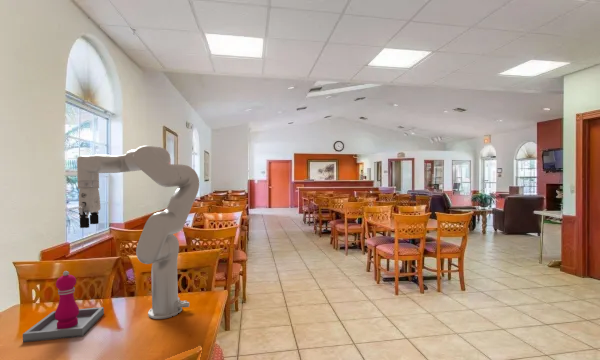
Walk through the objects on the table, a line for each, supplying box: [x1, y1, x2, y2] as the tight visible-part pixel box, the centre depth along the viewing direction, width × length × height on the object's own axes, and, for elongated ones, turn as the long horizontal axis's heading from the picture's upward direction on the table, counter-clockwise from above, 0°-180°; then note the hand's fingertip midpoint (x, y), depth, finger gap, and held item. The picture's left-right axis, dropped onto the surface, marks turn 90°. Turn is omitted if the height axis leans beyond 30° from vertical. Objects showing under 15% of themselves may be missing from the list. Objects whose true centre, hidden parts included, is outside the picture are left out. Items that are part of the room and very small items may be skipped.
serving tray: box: [22, 306, 105, 343], centre depth 119 cm, size 18×18×3 cm
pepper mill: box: [55, 270, 80, 329], centre depth 118 cm, size 7×7×20 cm
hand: (89, 225), depth 136 cm, fingers open, 9 cm apart
